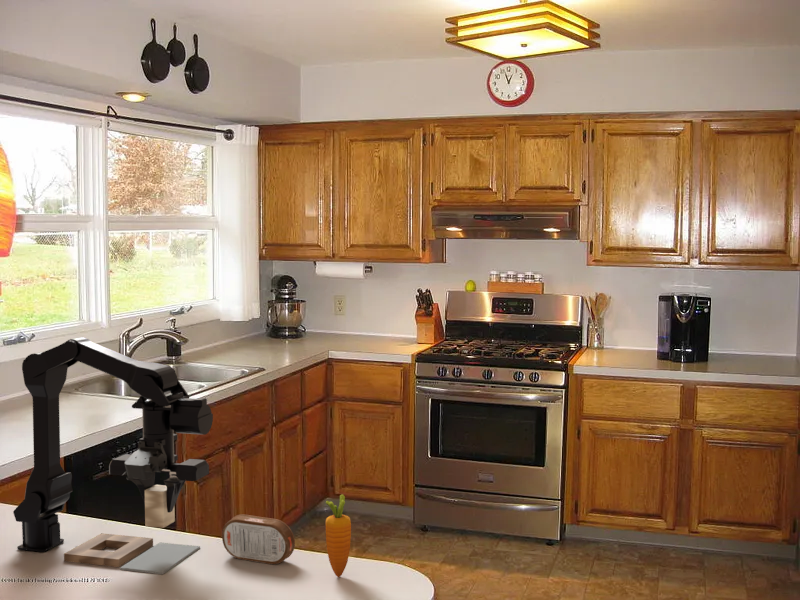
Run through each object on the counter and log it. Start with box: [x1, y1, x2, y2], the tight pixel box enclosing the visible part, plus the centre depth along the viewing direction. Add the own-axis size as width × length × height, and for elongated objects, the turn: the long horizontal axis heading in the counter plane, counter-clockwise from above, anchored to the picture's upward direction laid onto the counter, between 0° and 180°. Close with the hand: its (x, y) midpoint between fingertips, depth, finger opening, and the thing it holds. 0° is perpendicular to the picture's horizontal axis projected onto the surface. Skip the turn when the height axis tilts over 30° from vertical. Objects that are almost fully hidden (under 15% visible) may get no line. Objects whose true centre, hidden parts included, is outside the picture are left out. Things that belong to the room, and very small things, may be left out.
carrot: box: [325, 494, 352, 578], centre depth 154 cm, size 5×5×15 cm
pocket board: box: [63, 532, 154, 568], centre depth 168 cm, size 12×12×2 cm
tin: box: [221, 513, 296, 565], centre depth 163 cm, size 15×3×8 cm, turn 69°
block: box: [144, 484, 176, 529], centre depth 164 cm, size 4×4×7 cm
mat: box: [119, 542, 201, 575], centre depth 165 cm, size 9×14×1 cm, turn 165°
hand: (159, 511), depth 164 cm, fingers closed on block, 4 cm apart
